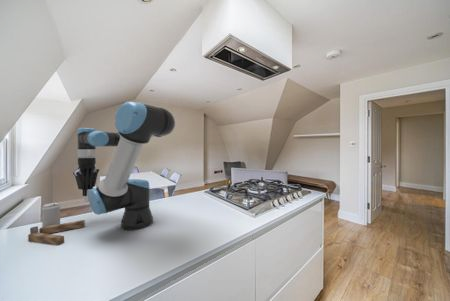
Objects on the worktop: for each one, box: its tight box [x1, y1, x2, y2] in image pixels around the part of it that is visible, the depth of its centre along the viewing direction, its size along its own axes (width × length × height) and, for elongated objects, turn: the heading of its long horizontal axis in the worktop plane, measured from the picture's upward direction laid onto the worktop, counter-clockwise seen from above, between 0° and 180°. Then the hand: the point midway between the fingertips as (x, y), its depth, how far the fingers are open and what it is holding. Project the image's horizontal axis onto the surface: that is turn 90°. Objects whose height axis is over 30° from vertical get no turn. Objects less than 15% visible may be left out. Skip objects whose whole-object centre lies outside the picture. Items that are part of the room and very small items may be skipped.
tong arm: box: [38, 219, 86, 234], centre depth 86 cm, size 16×2×3 cm, turn 124°
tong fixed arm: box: [27, 225, 65, 246], centre depth 77 cm, size 19×4×4 cm, turn 79°
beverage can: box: [41, 202, 61, 227], centre depth 89 cm, size 6×6×12 cm
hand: (87, 201), depth 96 cm, fingers closed
